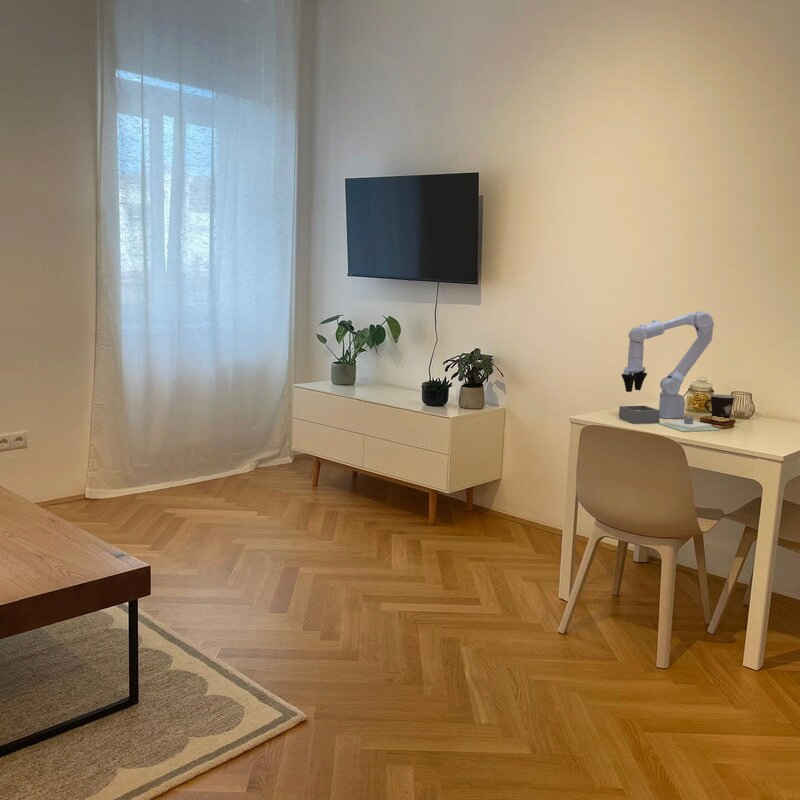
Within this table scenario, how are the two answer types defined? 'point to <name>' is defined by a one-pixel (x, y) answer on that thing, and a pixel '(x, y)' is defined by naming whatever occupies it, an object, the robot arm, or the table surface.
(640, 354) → the robot arm
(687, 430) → the mat
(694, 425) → the lid
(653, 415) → the box
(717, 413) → the coffee mug
